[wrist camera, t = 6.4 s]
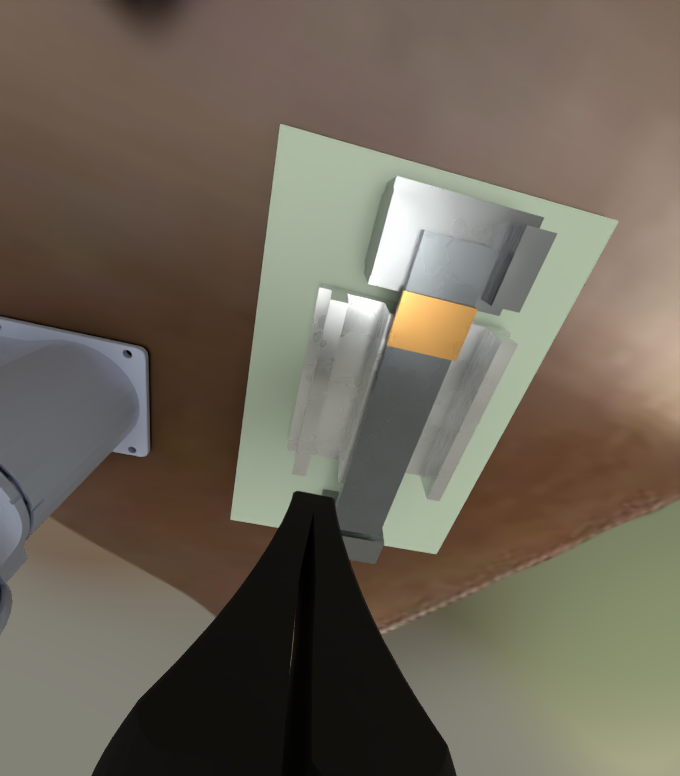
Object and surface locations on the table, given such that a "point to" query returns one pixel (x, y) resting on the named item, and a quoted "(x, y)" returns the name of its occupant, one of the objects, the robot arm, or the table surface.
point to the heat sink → (356, 377)
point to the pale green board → (346, 270)
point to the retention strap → (411, 373)
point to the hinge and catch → (461, 221)
